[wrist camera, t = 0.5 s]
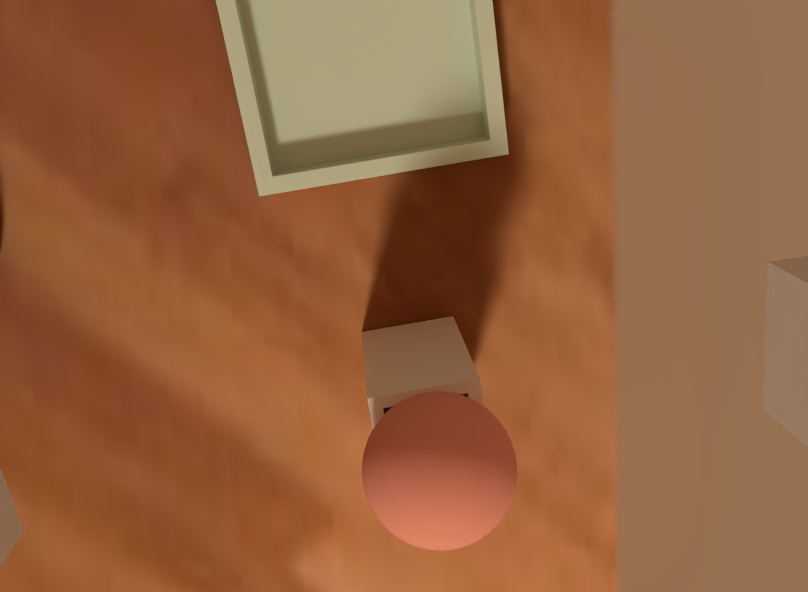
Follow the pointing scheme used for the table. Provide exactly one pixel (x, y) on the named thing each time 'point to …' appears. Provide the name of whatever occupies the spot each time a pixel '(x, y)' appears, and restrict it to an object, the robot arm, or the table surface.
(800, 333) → the robot arm
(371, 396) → the hollow square tube
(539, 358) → the table surface
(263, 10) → the tray
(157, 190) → the table surface
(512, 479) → the ball
